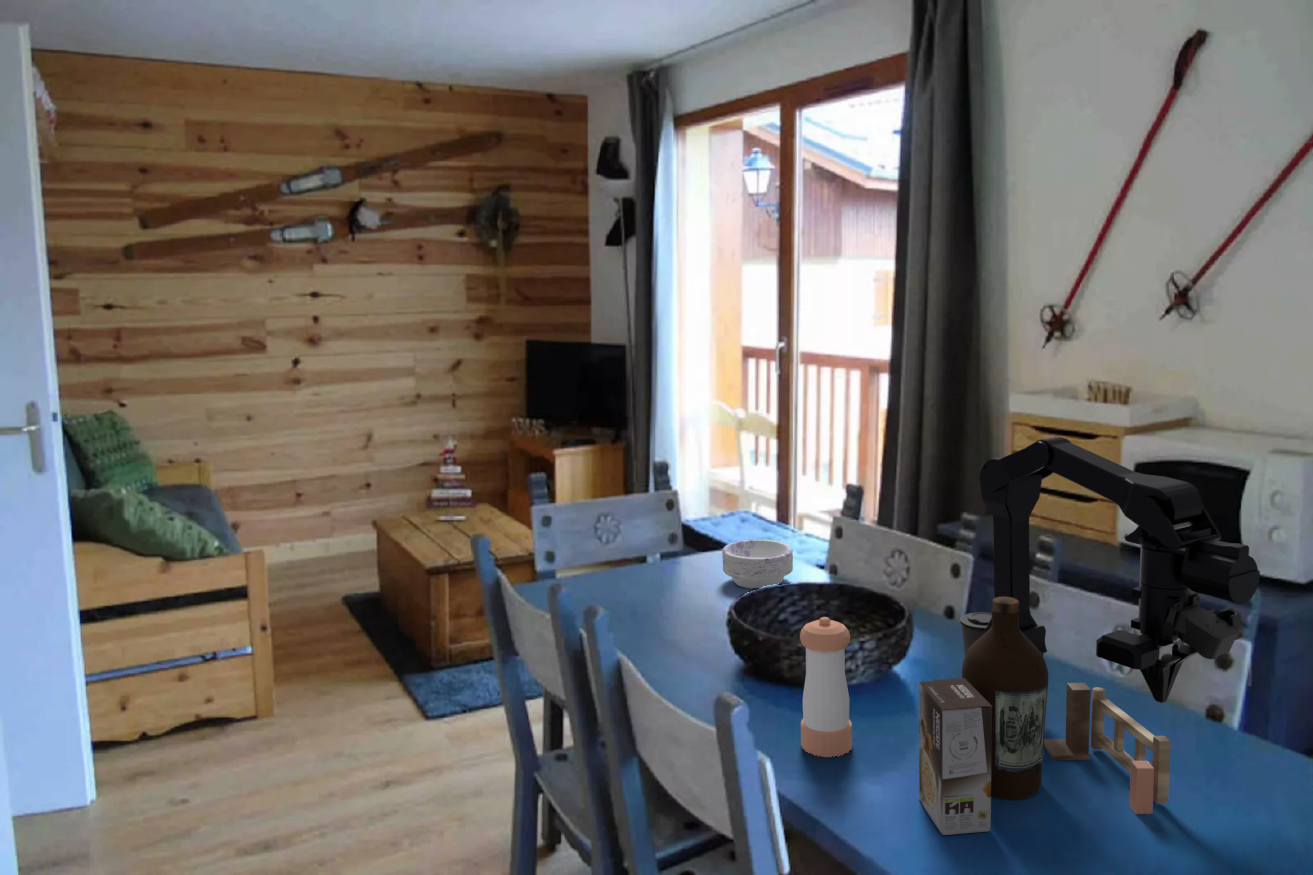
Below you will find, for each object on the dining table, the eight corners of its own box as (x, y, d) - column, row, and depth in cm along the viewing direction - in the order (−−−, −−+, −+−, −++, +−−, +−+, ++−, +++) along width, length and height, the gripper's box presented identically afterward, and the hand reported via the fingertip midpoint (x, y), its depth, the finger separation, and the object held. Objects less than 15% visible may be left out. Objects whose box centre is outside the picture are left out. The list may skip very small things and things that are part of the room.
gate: (1088, 744, 145) (1090, 687, 144) (1099, 744, 145) (1101, 686, 144) (1156, 805, 128) (1159, 741, 127) (1168, 804, 129) (1171, 740, 127)
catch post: (1135, 814, 128) (1137, 768, 127) (1129, 805, 130) (1131, 760, 129) (1152, 814, 128) (1154, 768, 127) (1145, 805, 130) (1147, 760, 129)
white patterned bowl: (783, 596, 217) (783, 559, 216) (714, 591, 222) (713, 555, 221) (800, 575, 231) (799, 540, 230) (734, 571, 236) (733, 537, 235)
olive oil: (946, 770, 141) (947, 592, 137) (1016, 759, 143) (1019, 584, 139) (988, 808, 130) (990, 618, 126) (1063, 796, 133) (1067, 608, 129)
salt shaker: (855, 737, 151) (854, 611, 148) (848, 760, 145) (846, 628, 142) (806, 732, 154) (804, 607, 151) (796, 754, 147) (793, 624, 144)
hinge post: (1052, 759, 142) (1054, 694, 141) (1042, 743, 147) (1043, 679, 146) (1091, 759, 142) (1093, 693, 140) (1080, 742, 147) (1081, 679, 145)
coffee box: (993, 832, 125) (995, 706, 123) (941, 836, 125) (942, 710, 122) (964, 794, 134) (965, 676, 132) (916, 798, 134) (916, 680, 131)
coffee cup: (955, 680, 170) (955, 621, 169) (960, 662, 178) (960, 606, 176) (1007, 685, 167) (1008, 626, 166) (1010, 667, 175) (1011, 610, 173)
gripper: (1180, 614, 118) (1175, 744, 120) (1272, 583, 127) (1266, 704, 130) (1094, 591, 127) (1091, 711, 130) (1186, 564, 137) (1182, 676, 139)
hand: (1160, 701), depth 132 cm, fingers closed
